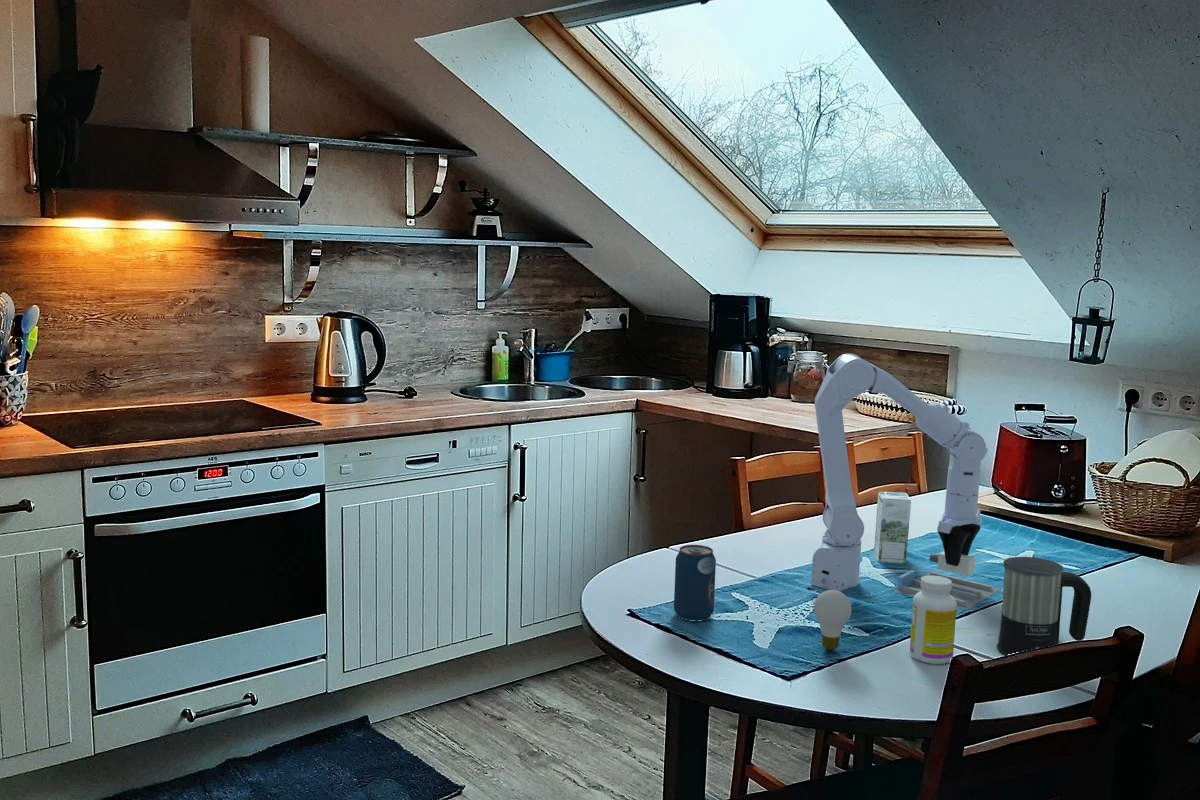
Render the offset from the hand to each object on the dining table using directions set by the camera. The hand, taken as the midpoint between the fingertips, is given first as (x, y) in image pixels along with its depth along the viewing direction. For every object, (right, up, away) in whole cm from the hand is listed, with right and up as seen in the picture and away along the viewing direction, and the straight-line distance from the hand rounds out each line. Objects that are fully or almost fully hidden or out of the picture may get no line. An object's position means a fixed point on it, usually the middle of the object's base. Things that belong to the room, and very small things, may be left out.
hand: (955, 562), depth 204 cm
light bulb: (-30, -10, -30) cm, 44 cm away
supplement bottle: (-15, -10, -32) cm, 37 cm away
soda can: (-51, -7, -16) cm, 54 cm away
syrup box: (-8, -3, +18) cm, 19 cm away
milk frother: (+3, -10, -25) cm, 27 cm away
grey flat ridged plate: (-2, -6, -2) cm, 7 cm away
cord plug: (0, -2, 0) cm, 2 cm away
